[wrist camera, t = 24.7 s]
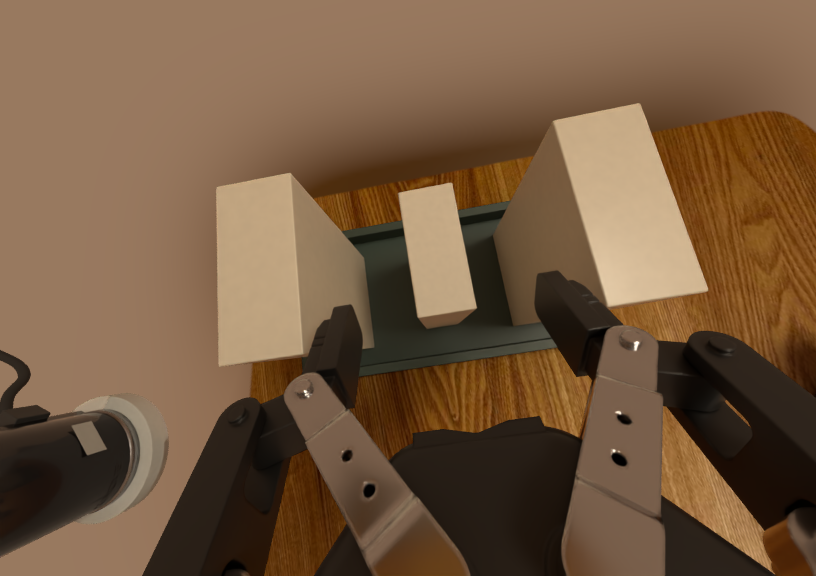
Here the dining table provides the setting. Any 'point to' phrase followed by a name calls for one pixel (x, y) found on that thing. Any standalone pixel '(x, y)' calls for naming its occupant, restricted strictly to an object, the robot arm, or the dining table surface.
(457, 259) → the thin cream book
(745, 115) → the dining table surface
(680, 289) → the cream book
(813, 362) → the dining table surface
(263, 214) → the cream book
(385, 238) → the book tray
